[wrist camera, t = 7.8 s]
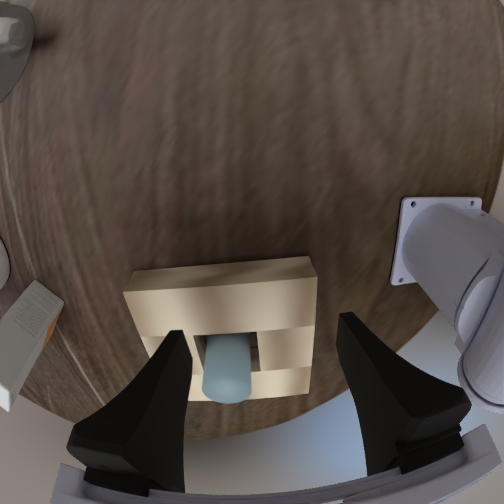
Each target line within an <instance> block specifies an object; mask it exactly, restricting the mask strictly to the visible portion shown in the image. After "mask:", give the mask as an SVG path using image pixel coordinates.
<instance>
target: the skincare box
mask: <svg viewBox="0 0 504 504" xmlns="http://www.w3.org/2000/svg"><path fill="white" fill-rule="evenodd" d="M63 305H64V301H63V300H61V299H60V298H59V297H57V296H56V295H55V294H53V293H52V292H51V291H49V290H48V289H47V288H46V287H44V286H43V285H42V284H41V283H40V282H38V281H37V280H34V281H33V282H32V283H31V284H30V285H29V286H28V287H27V289H26V290H25V291H24V292H23V293H22V294H21V296H20V297H19V298H18V299H17V300H16V301H15V303H14V304H13V305H12V306H11V308H10V309H9V310H8V311H7V312H6V314H5V315H4V316H3V317H2V319H1V320H0V406H1V407H2V408H4V409H5V410H6V411H8V412H9V411H10V410H11V407H12V405H13V403H14V401H15V399H16V397H17V395H18V393H19V391H20V389H21V387H22V385H23V384H24V382H25V380H26V378H27V376H28V374H29V372H30V371H31V369H32V367H33V365H34V363H35V362H36V360H37V358H38V356H39V354H40V353H41V351H42V349H43V348H44V346H45V344H46V343H47V341H48V340H49V338H50V336H51V335H52V333H53V331H54V327H55V325H56V322H57V319H58V316H59V314H60V312H61V310H62V307H63Z"/></svg>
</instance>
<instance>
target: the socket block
mask: <svg viewBox="0 0 504 504" xmlns="http://www.w3.org/2000/svg"><path fill="white" fill-rule="evenodd" d="M123 294H124V297H125V299H126V302H127V305H128V307H129V310H130V312H131V315H132V317H133V320H134V322H135V325H136V327H137V330H138V332H139V334H140V337H141V339H142V341H143V344H144V346H145V348H146V350H147V353H148V355H149V357H150V358H151V357H152V355H153V354H154V353H155V351H156V350H157V348H158V347H159V345H160V344H161V343H162V341H163V340H164V338H165V337H166V335H167V334H168V332H169V331H170V330H183V332H184V335H185V338H186V341H187V344H188V347H189V349H190V352H191V355H192V358H193V369H192V380H191V386H190V392H189V397H188V401H213V400H211V399H209V398H208V397H206V396H205V395H204V394H203V392H202V381H203V372H204V364H205V355H206V344H205V341H204V337H203V335H212V334H229V333H243V332H256V331H257V339H258V348H250V359H251V386H252V392H251V394H250V396H249V397H248V398H247V399H259V398H271V397H281V396H290V395H298V394H306V393H309V384H310V374H311V364H312V353H313V341H314V329H315V314H316V298H317V274H316V272H315V269H314V267H313V265H312V262H311V260H310V258H309V256H303V257H292V258H281V259H270V260H258V261H247V262H235V263H224V264H212V265H200V266H188V267H176V268H163V269H151V270H138V271H134V273H133V274H132V276H131V278H130V280H129V281H128V283H127V285H126V287H125V289H124V290H123Z"/></svg>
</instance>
